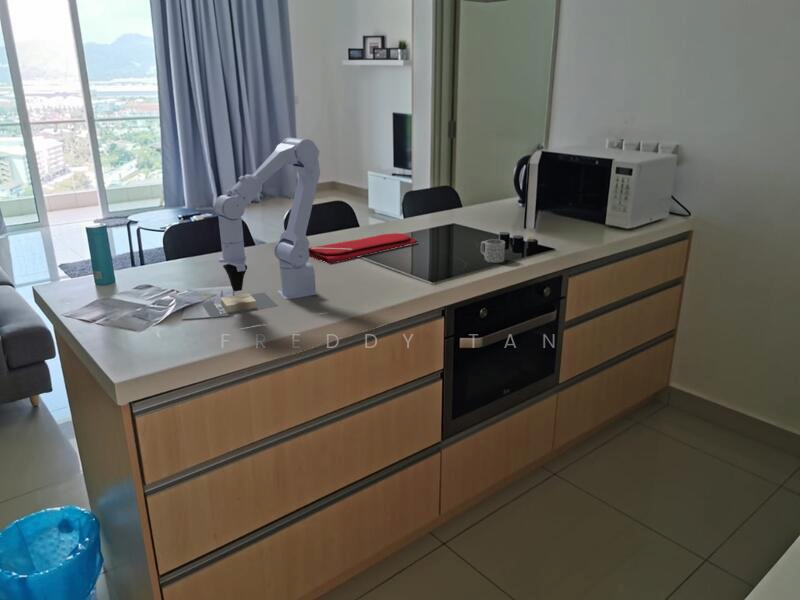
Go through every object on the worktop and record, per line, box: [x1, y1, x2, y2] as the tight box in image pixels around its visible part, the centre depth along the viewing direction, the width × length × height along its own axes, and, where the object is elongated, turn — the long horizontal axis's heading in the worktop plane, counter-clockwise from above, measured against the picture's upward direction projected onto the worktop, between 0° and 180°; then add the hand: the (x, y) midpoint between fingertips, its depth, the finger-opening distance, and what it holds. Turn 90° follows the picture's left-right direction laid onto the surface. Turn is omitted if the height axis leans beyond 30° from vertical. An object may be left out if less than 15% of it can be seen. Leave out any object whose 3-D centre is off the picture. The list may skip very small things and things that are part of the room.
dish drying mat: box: [308, 232, 418, 264], centre depth 221 cm, size 16×41×4 cm, turn 131°
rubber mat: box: [201, 292, 279, 319], centre depth 166 cm, size 18×13×1 cm
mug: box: [480, 238, 506, 264], centre depth 207 cm, size 10×7×7 cm, turn 37°
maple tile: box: [219, 293, 257, 313], centre depth 164 cm, size 8×2×7 cm
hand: (237, 290), depth 162 cm, fingers closed
